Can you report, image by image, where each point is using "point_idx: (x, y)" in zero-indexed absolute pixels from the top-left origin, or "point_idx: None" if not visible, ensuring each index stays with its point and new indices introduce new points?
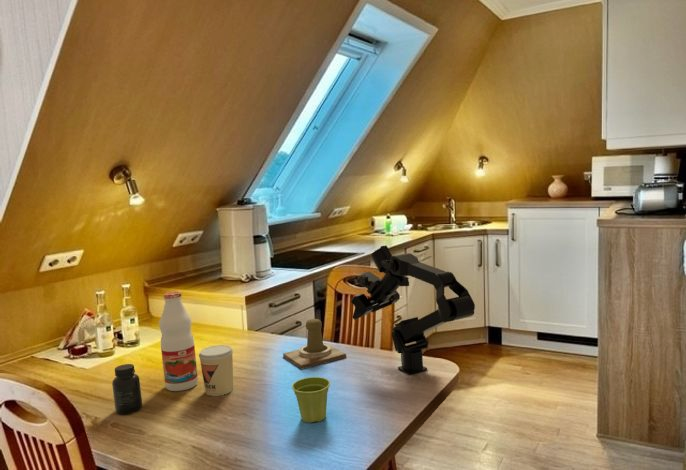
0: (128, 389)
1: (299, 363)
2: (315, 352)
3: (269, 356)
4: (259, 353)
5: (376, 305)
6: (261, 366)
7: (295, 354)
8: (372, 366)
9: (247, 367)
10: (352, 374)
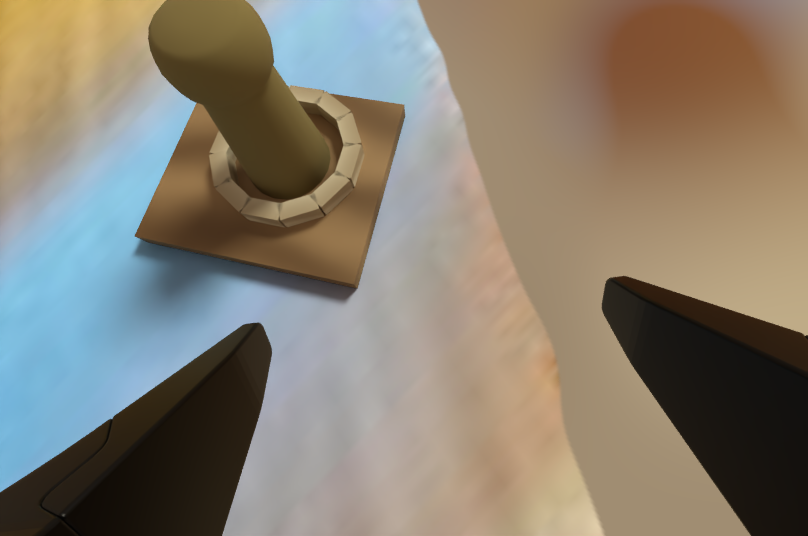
0: None
1: (147, 213)
2: (254, 182)
3: None
4: None
5: (711, 384)
6: (104, 106)
7: None
8: (338, 497)
9: (76, 80)
10: None
